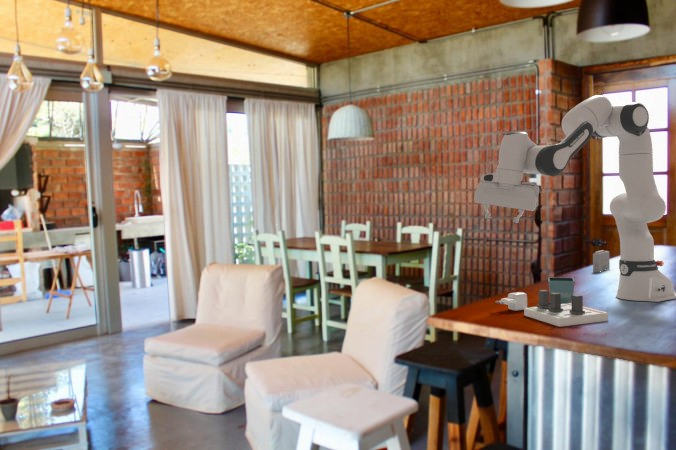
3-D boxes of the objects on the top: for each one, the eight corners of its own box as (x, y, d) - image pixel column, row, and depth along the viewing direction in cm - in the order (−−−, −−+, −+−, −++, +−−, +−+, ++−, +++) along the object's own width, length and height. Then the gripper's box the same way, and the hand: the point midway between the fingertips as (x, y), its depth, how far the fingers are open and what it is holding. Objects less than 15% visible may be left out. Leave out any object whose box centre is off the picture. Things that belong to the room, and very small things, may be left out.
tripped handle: (578, 311, 185) (577, 294, 185) (585, 313, 182) (584, 295, 182) (569, 312, 184) (569, 295, 184) (576, 314, 181) (576, 296, 181)
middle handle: (556, 309, 190) (556, 292, 190) (562, 311, 187) (562, 293, 187) (548, 310, 189) (547, 293, 189) (554, 312, 186) (554, 294, 186)
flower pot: (573, 301, 215) (573, 277, 214) (575, 306, 207) (574, 281, 206) (548, 301, 218) (548, 277, 217) (548, 305, 209) (548, 280, 209)
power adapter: (502, 313, 200) (502, 296, 200) (493, 311, 204) (493, 294, 204) (529, 309, 204) (528, 293, 203) (520, 307, 208) (519, 291, 208)
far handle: (545, 306, 196) (544, 289, 195) (551, 307, 193) (550, 290, 192) (536, 307, 195) (536, 290, 194) (542, 308, 192) (542, 291, 191)
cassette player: (603, 268, 295) (603, 248, 294) (609, 268, 293) (609, 249, 292) (593, 272, 283) (592, 252, 283) (598, 272, 281) (598, 252, 281)
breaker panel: (570, 310, 200) (569, 302, 200) (608, 320, 183) (608, 312, 183) (524, 315, 195) (524, 307, 195) (559, 326, 178) (558, 318, 178)
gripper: (542, 184, 193) (534, 225, 194) (481, 176, 203) (474, 216, 204) (538, 182, 188) (531, 225, 189) (476, 175, 198) (469, 215, 198)
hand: (501, 220), depth 196 cm, fingers open, 8 cm apart
